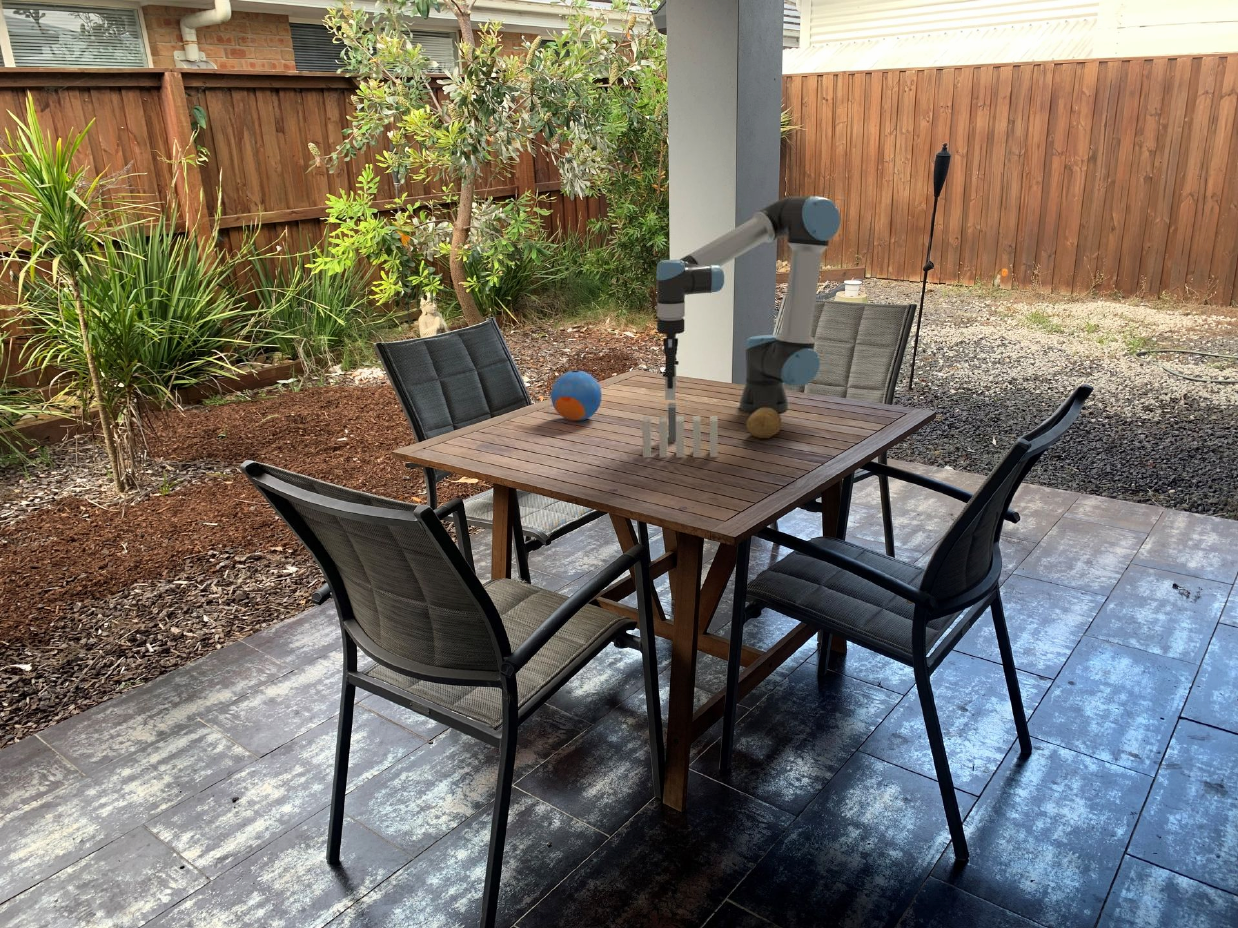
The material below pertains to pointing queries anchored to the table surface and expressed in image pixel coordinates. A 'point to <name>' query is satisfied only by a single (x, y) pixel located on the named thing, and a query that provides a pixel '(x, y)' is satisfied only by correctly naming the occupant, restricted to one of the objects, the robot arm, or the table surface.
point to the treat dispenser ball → (576, 395)
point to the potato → (764, 423)
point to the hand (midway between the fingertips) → (670, 393)
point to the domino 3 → (672, 422)
